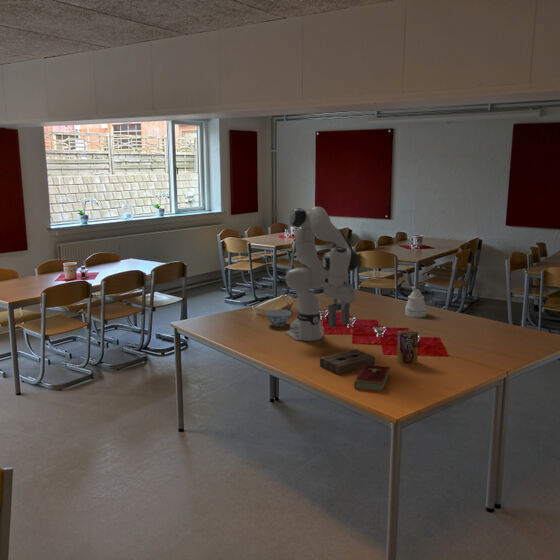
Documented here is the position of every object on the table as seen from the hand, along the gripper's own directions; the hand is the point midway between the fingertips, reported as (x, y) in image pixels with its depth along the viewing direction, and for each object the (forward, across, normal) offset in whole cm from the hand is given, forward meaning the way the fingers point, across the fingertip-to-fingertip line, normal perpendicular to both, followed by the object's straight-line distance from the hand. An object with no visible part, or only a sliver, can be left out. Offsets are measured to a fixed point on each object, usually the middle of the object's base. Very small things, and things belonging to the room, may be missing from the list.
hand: (339, 308), depth 275 cm
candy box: (+24, -27, -20) cm, 41 cm away
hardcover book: (+25, -36, +10) cm, 44 cm away
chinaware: (+24, +64, -6) cm, 69 cm away
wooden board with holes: (+24, -14, +6) cm, 28 cm away
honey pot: (+24, +33, -89) cm, 98 cm away
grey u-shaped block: (+8, 0, 0) cm, 8 cm away
